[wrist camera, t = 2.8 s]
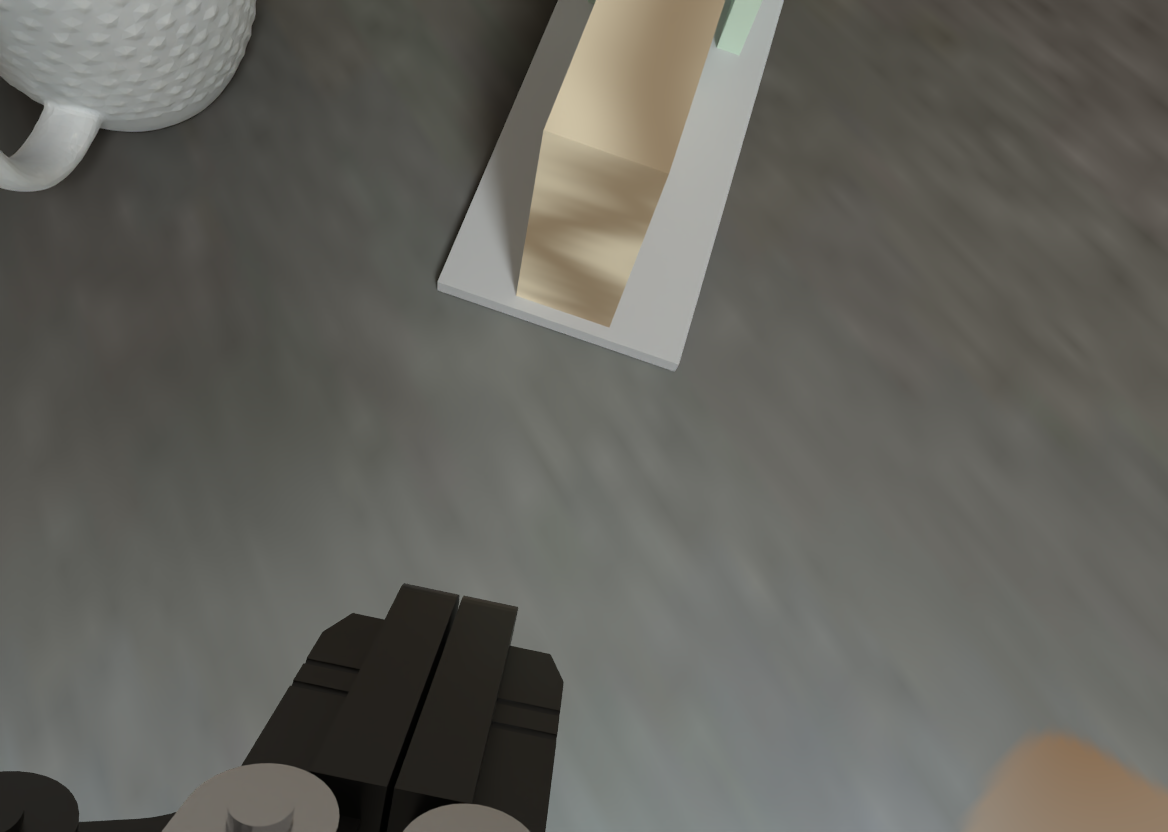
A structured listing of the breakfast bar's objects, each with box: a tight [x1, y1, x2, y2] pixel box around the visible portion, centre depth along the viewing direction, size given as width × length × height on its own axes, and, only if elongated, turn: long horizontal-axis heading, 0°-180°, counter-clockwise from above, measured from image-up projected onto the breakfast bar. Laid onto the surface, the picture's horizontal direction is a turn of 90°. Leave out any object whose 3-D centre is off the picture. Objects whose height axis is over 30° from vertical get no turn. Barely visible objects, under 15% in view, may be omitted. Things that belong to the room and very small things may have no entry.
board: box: [437, 0, 784, 371], centre depth 36 cm, size 9×22×1 cm, turn 163°
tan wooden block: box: [516, 0, 725, 327], centre depth 30 cm, size 4×12×9 cm, turn 163°
